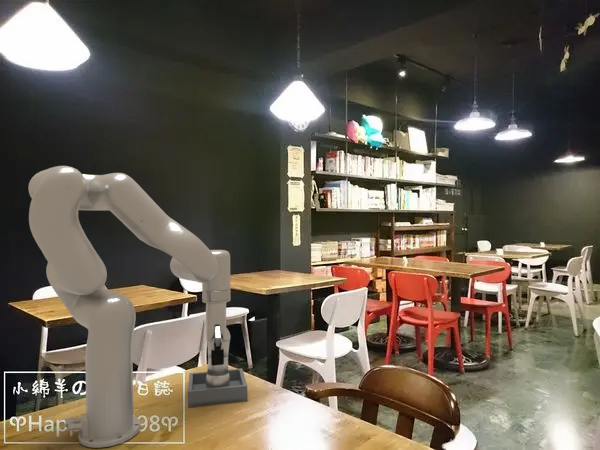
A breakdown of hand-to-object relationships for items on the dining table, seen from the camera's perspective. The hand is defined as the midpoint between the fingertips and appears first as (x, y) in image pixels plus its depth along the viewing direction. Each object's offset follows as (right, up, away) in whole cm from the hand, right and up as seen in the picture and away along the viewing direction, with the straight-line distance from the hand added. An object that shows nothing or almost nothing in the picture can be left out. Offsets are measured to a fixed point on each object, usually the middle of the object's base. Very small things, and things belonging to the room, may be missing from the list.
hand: (216, 358), depth 112 cm
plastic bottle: (0, -9, -1) cm, 9 cm away
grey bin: (0, -10, 0) cm, 10 cm away
